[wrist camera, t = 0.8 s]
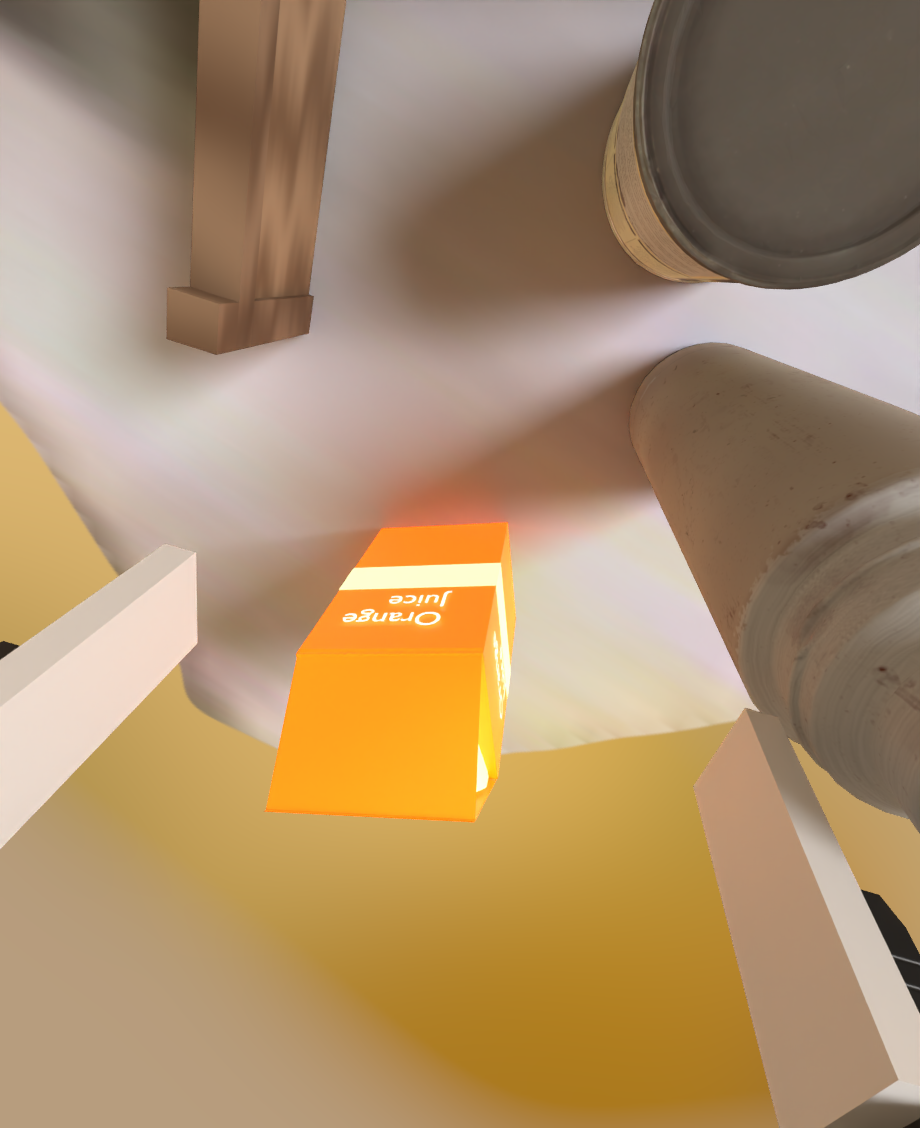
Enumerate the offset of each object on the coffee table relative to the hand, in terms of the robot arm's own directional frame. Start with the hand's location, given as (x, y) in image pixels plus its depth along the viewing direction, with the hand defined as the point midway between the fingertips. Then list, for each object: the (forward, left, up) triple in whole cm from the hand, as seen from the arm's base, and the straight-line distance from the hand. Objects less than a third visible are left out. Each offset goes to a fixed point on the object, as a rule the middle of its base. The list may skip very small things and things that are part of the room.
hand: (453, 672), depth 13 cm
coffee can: (-15, +5, -24) cm, 28 cm away
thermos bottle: (-4, +10, -24) cm, 26 cm away
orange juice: (+11, -1, -24) cm, 26 cm away
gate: (-11, -14, -23) cm, 29 cm away
